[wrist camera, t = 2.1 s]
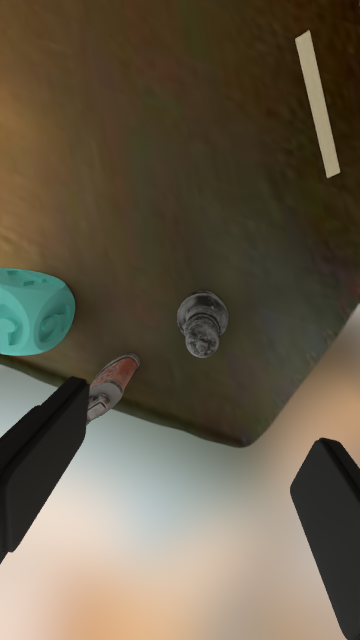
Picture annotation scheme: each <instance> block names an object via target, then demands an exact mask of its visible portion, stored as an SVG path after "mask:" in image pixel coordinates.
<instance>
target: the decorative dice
mask: <svg viewBox="0 0 360 640" xmlns="http://www.w3.org/2000/svg"><path fill="white" fill-rule="evenodd" d="M74 315H75V300H74V297H73V295H72V293H71V291H70V289H69V288H68V287H67V285H66V284H65V283H64V282H63V281H62V280H60V279H58V278H56V277H54V276H51V275H48V274H44V273H40V272H36V271H30V270H23V269H13V268H0V353H1V354H6V355H33V354H38V353H42V352H45V351H48V350H50V349H52V348H53V347H55V346H56V345H58V344H59V343H60V342H61V341H62V339H63V338H64V337H65V335H66V334H67V332H68V331H69V329H70V327H71V324H72V322H73V319H74Z"/></svg>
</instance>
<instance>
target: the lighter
mask: <svg viewBox="0 0 360 640" xmlns="http://www.w3.org/2000/svg"><path fill="white" fill-rule="evenodd" d="M139 365H140V360H139V358H138V357H137V356H136V355H135V354H132V353H128V354H125V355H123V356H120V357H118V358H117V359H115V360H113V361H112V362H110V363H109V364H108V365H106V366H105V367H104V368H103V369H102V370H101V371H100V372H99V374H98V375H97V376H96V377H95V379H94V381H93V383H92V384H91V385H90V392H89V402H88V413H87V423H86V425H87V424H88V423H89V422H90V421H91V420H94V419H95V418H98V417H99V416H101V415H103V414H105V413H106V412H107V411H109V410H110V409H111V408H112V407H113V406H114V405H115V404H116V403H117V402H118V401H119V400H120V399H121V397H122V395H123V392H124V388H125V387H126V385H127V383H128V382H129V380H130V378H131V376H132V375H133V373H134V372H135V371H136V370H137V369H138V367H139Z"/></svg>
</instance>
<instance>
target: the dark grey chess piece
mask: <svg viewBox="0 0 360 640" xmlns="http://www.w3.org/2000/svg"><path fill="white" fill-rule="evenodd" d="M228 321H229V319H228V311H227V308H226V306H225V305H224V303H223V302H222V301H221V300H220V299H219V298H218V297H217V296H216V295H215V294H213V293H211V292H209V291H197V292H194V293H192V294H191V295H189V296H188V297H187V299H185V300H184V302H183V303H182V304H181V305H180V308H179V310H178V313H177V323H178V326H179V329H180V330H181V332H182V333H183V334H184V335H185V336H186V346H187V348H188V350H189V351H190V353H192V354H193V355H194V356H197V357H200V358H205V357H209V356H211V355H213V354H214V353H215V352H216V350H217V348H218V344H219V337H220V336H221V335H222V334H223V333H224V331H225V329H226V328H227V325H228Z"/></svg>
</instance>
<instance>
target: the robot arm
mask: <svg viewBox="0 0 360 640" xmlns="http://www.w3.org/2000/svg"><path fill="white" fill-rule="evenodd" d="M89 392H90V385H89V384H87V381H86V380H85V379H81V378H77V377H73V376H72V377H70V378H69V379H68V380H67V381H66V382H65V383H63V384H62V385H61V386H60V387H59V388H58V389H57V390H56V391H55V392H54V393H53V394H52V395H51V396H50V397H49V398H48V399H47V400H46V401H45V402H44V403H42V405H38V406H35V407H34V408H32V409H31V410H30V411H29V412H28V413H27V414H25V415H24V416H23V417H22V418H21V419H20V420H19V421H18V422H17V423H16V424H15V425H14V426H13V427H12V428H10V429H9V430H8V431H7V432H6V433H5V434H4V435H3V436H2V437H1V438H0V564H1V562H2V561H3V559H4V558H5V556H6V554H7V553H8V552H13V551H15V549H16V548H17V547H18V545H19V544H20V542H21V541H22V539H23V537H24V536H25V534H26V533H27V531H28V529H29V528H30V526H31V525H32V523H33V521H34V520H35V518H36V517H37V515H38V513H39V512H40V510H41V509H42V507H43V505H44V504H45V502H46V501H47V499H48V497H49V496H50V494H51V493H52V491H53V489H54V488H55V486H56V484H57V483H58V481H59V479H60V478H61V476H62V475H63V473H64V472H65V470H66V468H67V467H68V465H69V464H70V462H71V460H72V459H73V457H74V455H75V454H76V452H77V450H78V449H79V447H80V446H81V444H82V442H83V440H84V437H85V433H86V423H87V413H88V402H89ZM290 493H291V497H292V500H293V503H294V505H295V508H296V510H297V513H298V516H299V519H300V521H301V524H302V527H303V529H304V532H305V535H306V537H307V540H308V543H309V545H310V548H311V551H312V553H313V556H314V559H315V561H316V564H317V567H318V569H319V572H320V575H321V577H322V580H323V583H324V585H325V588H326V591H327V594H328V596H329V599H330V601H331V604H332V607H333V610H334V612H335V615H336V618H337V620H338V623H339V626H340V628H341V630H342V633H343V634H344V636H345V637H346V639H347V640H360V468H359V467H358V466H357V464H356V463H355V462H354V460H353V459H352V458H351V456H350V455H349V454H348V452H347V451H346V450H345V448H344V447H343V445H342V444H341V443H340V442H338V441H335V440H331V439H327V438H320V439H319V440H317V441H315V442H314V444H313V446H312V448H311V450H310V451H309V453H308V455H307V457H306V459H305V460H304V462H303V464H302V466H301V468H300V469H299V471H298V473H297V475H296V477H295V479H294V480H293V482H292V484H291V487H290Z"/></svg>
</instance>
